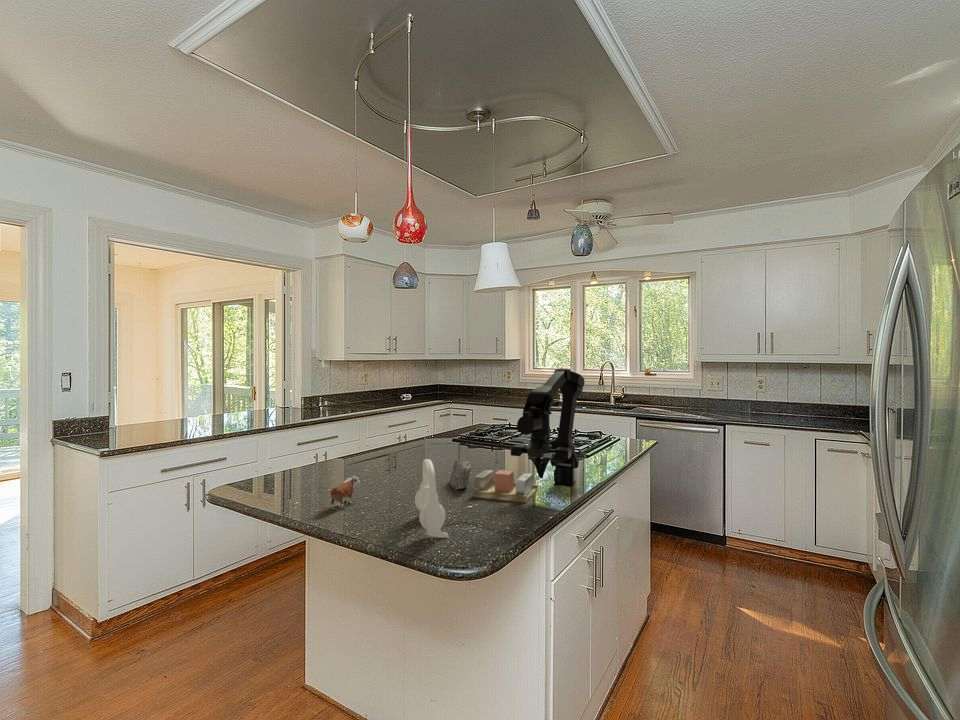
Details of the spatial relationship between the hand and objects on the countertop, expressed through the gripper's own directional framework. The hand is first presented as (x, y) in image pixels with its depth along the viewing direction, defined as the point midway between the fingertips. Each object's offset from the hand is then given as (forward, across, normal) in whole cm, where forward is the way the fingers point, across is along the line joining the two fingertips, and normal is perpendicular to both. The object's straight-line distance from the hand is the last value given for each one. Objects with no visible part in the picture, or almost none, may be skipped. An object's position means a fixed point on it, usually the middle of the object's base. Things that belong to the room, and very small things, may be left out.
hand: (541, 478), depth 161 cm
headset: (+6, -22, -35) cm, 42 cm away
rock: (+6, -30, +4) cm, 31 cm away
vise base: (+6, -12, 0) cm, 13 cm away
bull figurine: (+6, -55, -28) cm, 62 cm away
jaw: (+5, -5, 0) cm, 7 cm away
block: (+5, -12, 0) cm, 14 cm away
